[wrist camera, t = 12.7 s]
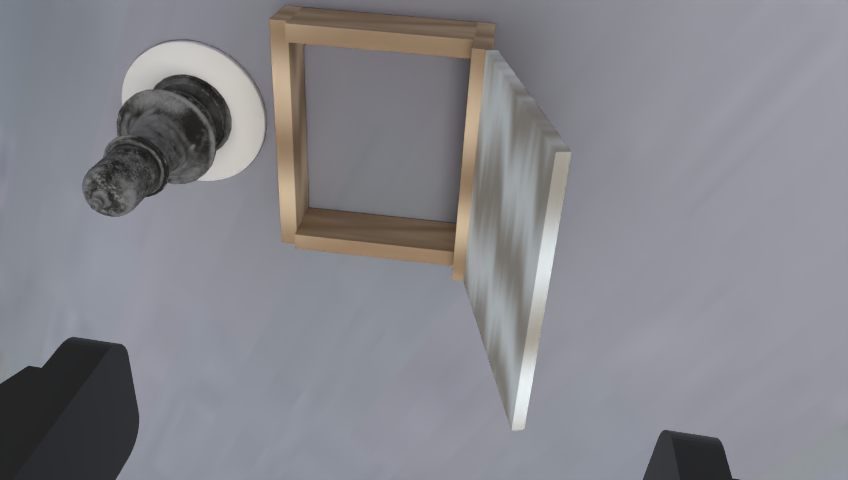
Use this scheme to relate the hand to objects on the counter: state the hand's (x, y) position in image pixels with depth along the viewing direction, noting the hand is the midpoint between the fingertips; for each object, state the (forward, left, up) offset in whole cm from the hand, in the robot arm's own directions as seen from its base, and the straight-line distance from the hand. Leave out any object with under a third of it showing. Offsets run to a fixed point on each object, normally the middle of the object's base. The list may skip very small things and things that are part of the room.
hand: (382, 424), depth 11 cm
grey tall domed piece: (+10, -18, -33) cm, 39 cm away
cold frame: (+10, -4, -34) cm, 35 cm away
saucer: (+10, -17, -34) cm, 39 cm away
